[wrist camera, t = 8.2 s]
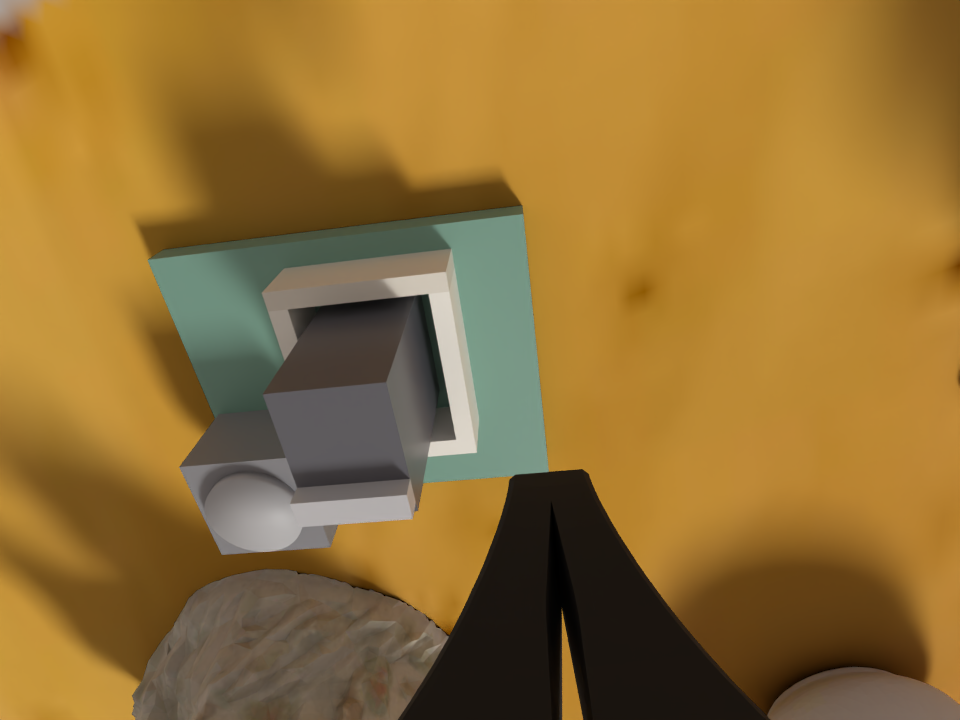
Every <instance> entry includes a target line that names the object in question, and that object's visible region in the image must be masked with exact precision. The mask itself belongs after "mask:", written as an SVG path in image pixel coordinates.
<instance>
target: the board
mask: <svg viewBox="0 0 960 720" xmlns="http://www.w3.org/2000/svg"><path fill="white" fill-rule="evenodd" d="M148 262H149V265H150V267H151V269H152V272H153V274H154V276H155V279H156V281H157V283H158V286H159V288H160V290H161V293H162V295H163V297H164V300H165V302H166V305H167V307H168V309H169V312H170V314H171V316H172V319H173V321H174V323H175V326H176V328H177V330H178V333H179V335H180V337H181V340H182V342H183V344H184V347H185V349H186V352H187V354H188V356H189V359H190V361H191V363H192V366H193V368H194V370H195V373H196V375H197V377H198V380H199V382H200V384H201V387H202V389H203V392H204V394H205V396H206V399H207V401H208V403H209V406H210V408H211V410H212V413H213V415H214V417H215V420H214V421H213V422H212V424H211V425H210V426H209V428H208V429H207V430H206V432H205V433H204V434H203V436H202V437H201V439H200V440H199V441H198V443H197V444H196V445H195V447H194V448H193V449H192V451H191V452H190V453H189V455H188V456H187V457H186V459H185V460H184V461H183V463H182V464H181V465H180V467H179V468H180V470H181V472H182V474H183V476H184V478H185V480H186V482H187V484H188V486H189V488H190V490H191V492H192V494H193V496H194V498H195V501H196V503H197V505H198V507H199V509H200V511H201V513H202V515H203V517H204V519H205V521H206V523H207V525H208V527H209V529H210V532H211V534H212V536H213V538H214V540H215V542H216V544H217V546H218V548H219V550H220V552H221V554H222V555H226V554H241V553H255V552H270V551H284V550H298V549H312V548H327V547H331V544H332V541H333V538H334V535H335V532H336V529H337V526H338V524H337V525H324V526H310V527H298V524H297V522H296V519H295V517H294V514H293V511H292V509H291V506H290V502H291V500H292V498H293V496H294V493H295V491H296V489H297V486H296V484H295V481H294V478H293V476H292V473H291V470H290V467H289V465H288V462H287V459H286V457H285V454H284V451H283V448H282V446H281V443H280V440H279V438H278V435H277V432H276V430H275V427H274V424H273V421H272V419H271V416H270V413H269V411H268V408H267V405H266V402H265V400H264V397H263V393H264V391H265V390H266V388H267V387H268V385H269V384H270V382H271V381H272V379H273V378H274V376H275V375H276V373H277V372H278V370H279V369H280V367H281V366H282V364H283V363H284V361H285V360H286V358H287V357H288V355H289V353H290V352H291V350H292V349H293V347H294V346H295V344H296V343H297V341H298V340H299V338H300V337H301V335H302V334H303V332H304V331H305V329H306V328H307V326H308V325H309V323H310V322H311V320H312V319H313V317H314V316H315V314H316V313H317V311H318V310H319V308H320V307H321V306H324V305H333V304H342V303H351V302H360V301H369V300H378V299H387V298H396V297H405V296H414V295H421V297H422V302H423V307H424V312H425V317H426V322H427V327H428V332H429V337H430V342H431V347H432V353H433V358H434V363H435V368H436V373H437V378H438V383H439V388H440V391H439V397H438V403H437V408H436V414H435V419H434V425H433V430H432V436H431V441H430V447H429V452H428V458H427V464H426V469H425V475H424V480H423V483H430V482H443V481H456V480H468V479H481V478H493V477H506V476H514V475H517V474H529V473H542V472H549V470H548V460H547V450H546V440H545V429H544V419H543V409H542V399H541V389H540V379H539V369H538V359H537V349H536V339H535V329H534V318H533V308H532V298H531V288H530V278H529V268H528V258H527V248H526V238H525V228H524V218H523V208H522V205H521V206H513V207H505V208H496V209H488V210H480V211H472V212H464V213H456V214H448V215H440V216H432V217H424V218H416V219H408V220H399V221H391V222H383V223H375V224H367V225H359V226H351V227H343V228H335V229H327V230H319V231H311V232H302V233H294V234H286V235H278V236H270V237H262V238H254V239H246V240H238V241H230V242H222V243H213V244H205V245H197V246H189V247H181V248H173V249H165V250H162V251H161V252H159V253H157V254H156V255H154V256H153V257H151V258H150V259H148Z"/></svg>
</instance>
